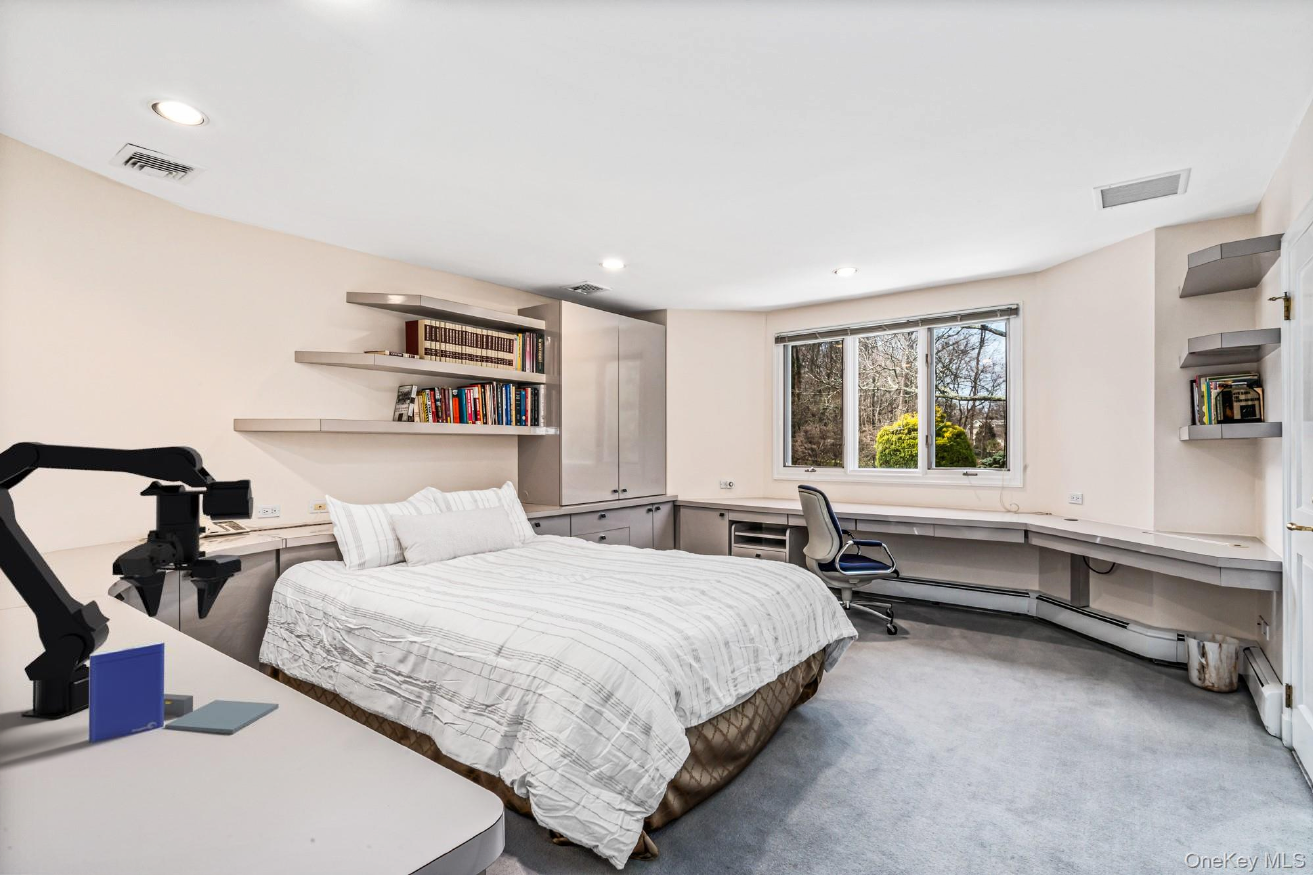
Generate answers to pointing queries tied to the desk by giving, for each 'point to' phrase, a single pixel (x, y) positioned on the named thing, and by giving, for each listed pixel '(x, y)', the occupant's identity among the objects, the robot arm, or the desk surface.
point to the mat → (223, 716)
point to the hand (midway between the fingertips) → (177, 617)
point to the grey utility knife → (177, 704)
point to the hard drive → (126, 691)
